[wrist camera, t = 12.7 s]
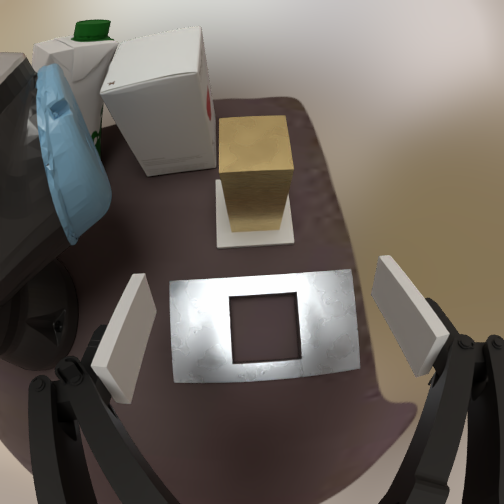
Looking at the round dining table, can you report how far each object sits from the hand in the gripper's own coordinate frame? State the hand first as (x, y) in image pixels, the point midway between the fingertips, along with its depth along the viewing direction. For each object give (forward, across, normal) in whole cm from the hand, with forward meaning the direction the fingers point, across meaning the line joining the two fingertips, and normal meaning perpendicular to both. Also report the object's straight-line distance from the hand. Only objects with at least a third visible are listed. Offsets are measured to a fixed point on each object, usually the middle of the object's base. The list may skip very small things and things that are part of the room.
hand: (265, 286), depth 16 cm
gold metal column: (+16, 0, -2) cm, 17 cm away
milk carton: (+21, -24, +5) cm, 33 cm away
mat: (+17, 0, -2) cm, 17 cm away
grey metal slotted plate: (+8, 0, -11) cm, 14 cm away
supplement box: (+24, -8, +5) cm, 26 cm away
